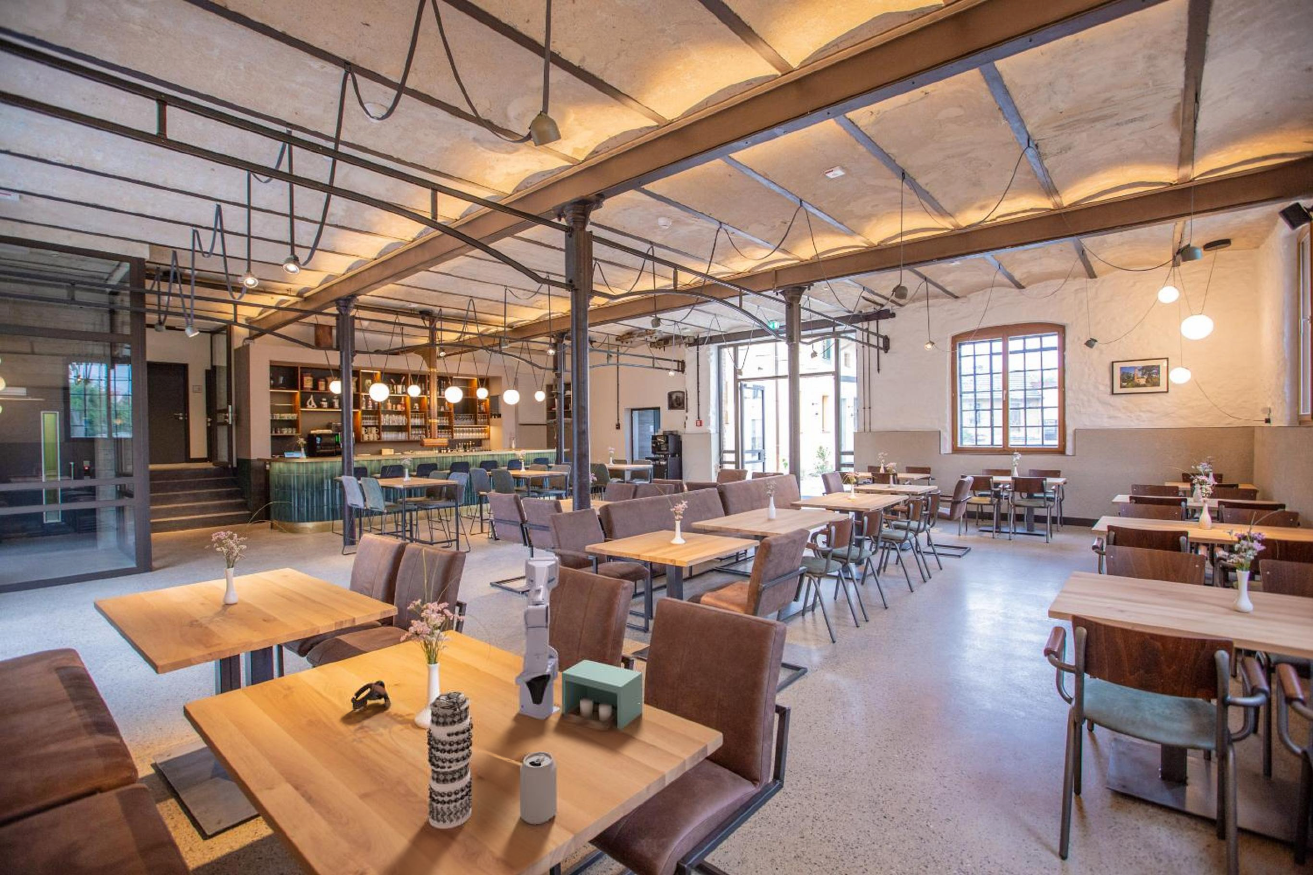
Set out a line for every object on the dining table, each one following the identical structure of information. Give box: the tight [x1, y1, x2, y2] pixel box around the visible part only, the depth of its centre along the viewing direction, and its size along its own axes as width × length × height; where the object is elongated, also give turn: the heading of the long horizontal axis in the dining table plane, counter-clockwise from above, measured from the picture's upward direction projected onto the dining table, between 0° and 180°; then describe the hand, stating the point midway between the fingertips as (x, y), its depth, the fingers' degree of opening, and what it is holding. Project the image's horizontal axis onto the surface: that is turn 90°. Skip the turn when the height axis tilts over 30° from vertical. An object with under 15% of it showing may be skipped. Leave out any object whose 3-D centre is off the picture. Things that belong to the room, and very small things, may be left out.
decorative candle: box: [426, 691, 474, 830], centre depth 126 cm, size 9×9×25 cm
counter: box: [561, 659, 643, 730], centre depth 170 cm, size 20×11×12 cm, turn 60°
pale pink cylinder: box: [598, 703, 613, 723], centre depth 166 cm, size 4×4×4 cm
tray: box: [564, 702, 617, 733], centre depth 166 cm, size 13×9×2 cm
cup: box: [580, 698, 594, 718], centre depth 169 cm, size 4×4×4 cm
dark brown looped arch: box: [350, 679, 392, 711], centre depth 176 cm, size 12×10×8 cm
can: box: [519, 751, 558, 825], centre depth 126 cm, size 8×8×12 cm
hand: (537, 703), depth 157 cm, fingers closed
